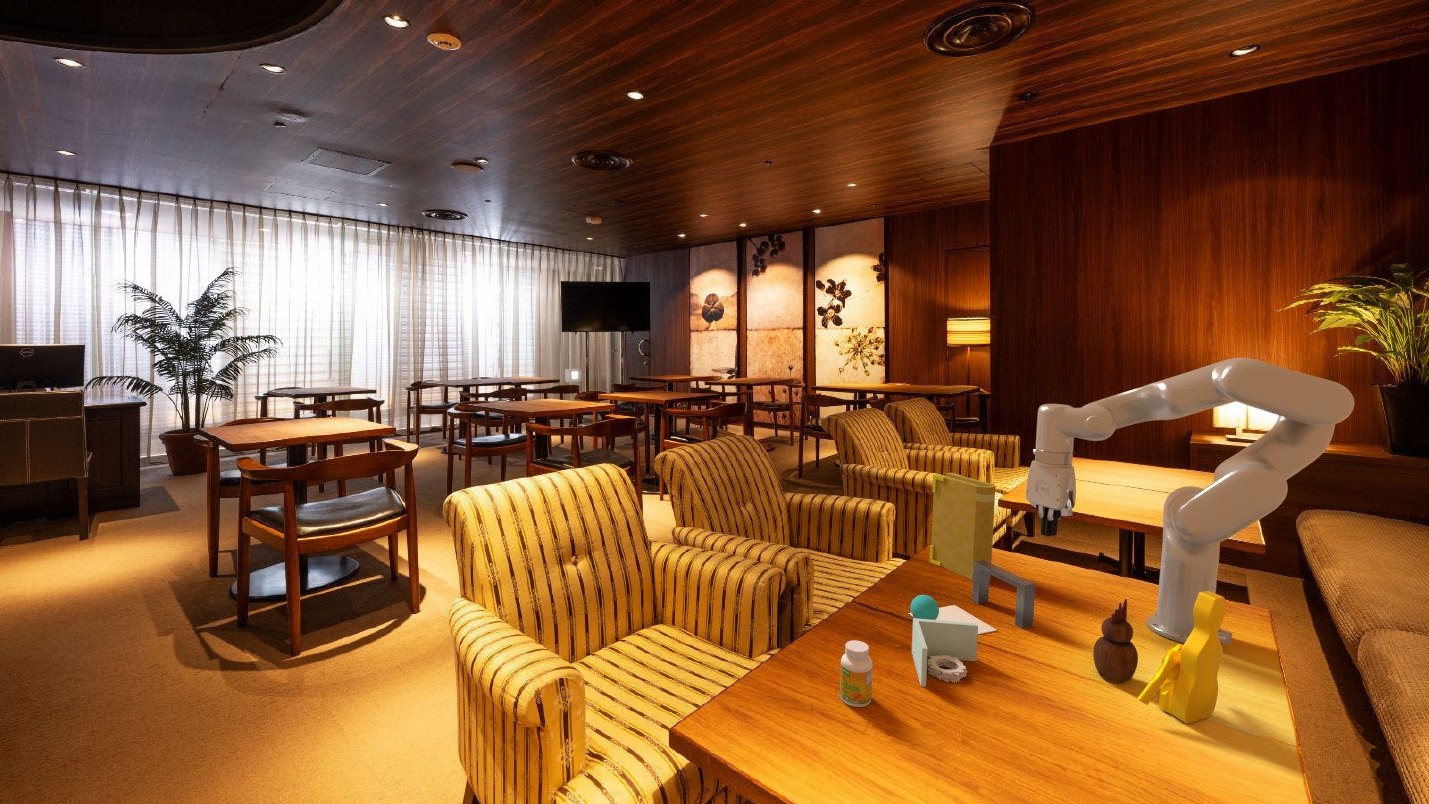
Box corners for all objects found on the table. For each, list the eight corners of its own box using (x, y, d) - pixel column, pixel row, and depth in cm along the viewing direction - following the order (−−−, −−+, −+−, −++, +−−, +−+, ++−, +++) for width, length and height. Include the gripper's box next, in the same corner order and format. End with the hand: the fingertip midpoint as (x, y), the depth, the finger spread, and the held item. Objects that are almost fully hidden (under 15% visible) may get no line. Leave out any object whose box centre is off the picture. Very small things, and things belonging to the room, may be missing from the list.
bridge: (981, 598, 147) (983, 560, 146) (1032, 626, 133) (1035, 583, 132) (971, 600, 146) (973, 561, 145) (1022, 628, 132) (1024, 585, 131)
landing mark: (996, 630, 131) (997, 630, 131) (947, 640, 126) (947, 639, 126) (954, 605, 143) (954, 605, 143) (908, 613, 139) (908, 613, 139)
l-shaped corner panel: (920, 687, 110) (922, 648, 109) (911, 654, 122) (913, 618, 121) (991, 694, 108) (993, 654, 107) (975, 659, 120) (976, 623, 119)
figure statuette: (1195, 691, 109) (1206, 573, 106) (1246, 717, 101) (1259, 590, 99) (1125, 712, 102) (1135, 586, 100) (1173, 741, 95) (1185, 606, 93)
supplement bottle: (834, 700, 106) (835, 647, 105) (848, 686, 110) (849, 635, 109) (863, 712, 102) (865, 657, 101) (876, 697, 106) (878, 644, 105)
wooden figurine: (1120, 669, 116) (1126, 593, 114) (1142, 686, 110) (1149, 607, 108) (1085, 669, 116) (1091, 594, 114) (1106, 687, 110) (1112, 607, 108)
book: (929, 561, 171) (933, 474, 169) (947, 558, 174) (951, 472, 172) (977, 583, 156) (982, 488, 154) (996, 579, 159) (1001, 485, 156)
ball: (930, 633, 132) (949, 614, 133) (917, 616, 130) (936, 596, 131) (913, 620, 138) (931, 601, 139) (900, 604, 136) (918, 585, 137)
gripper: (1015, 453, 146) (1010, 527, 148) (1069, 465, 132) (1064, 547, 134) (1039, 451, 148) (1034, 524, 150) (1095, 463, 134) (1089, 543, 136)
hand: (1048, 534), depth 142 cm, fingers closed
